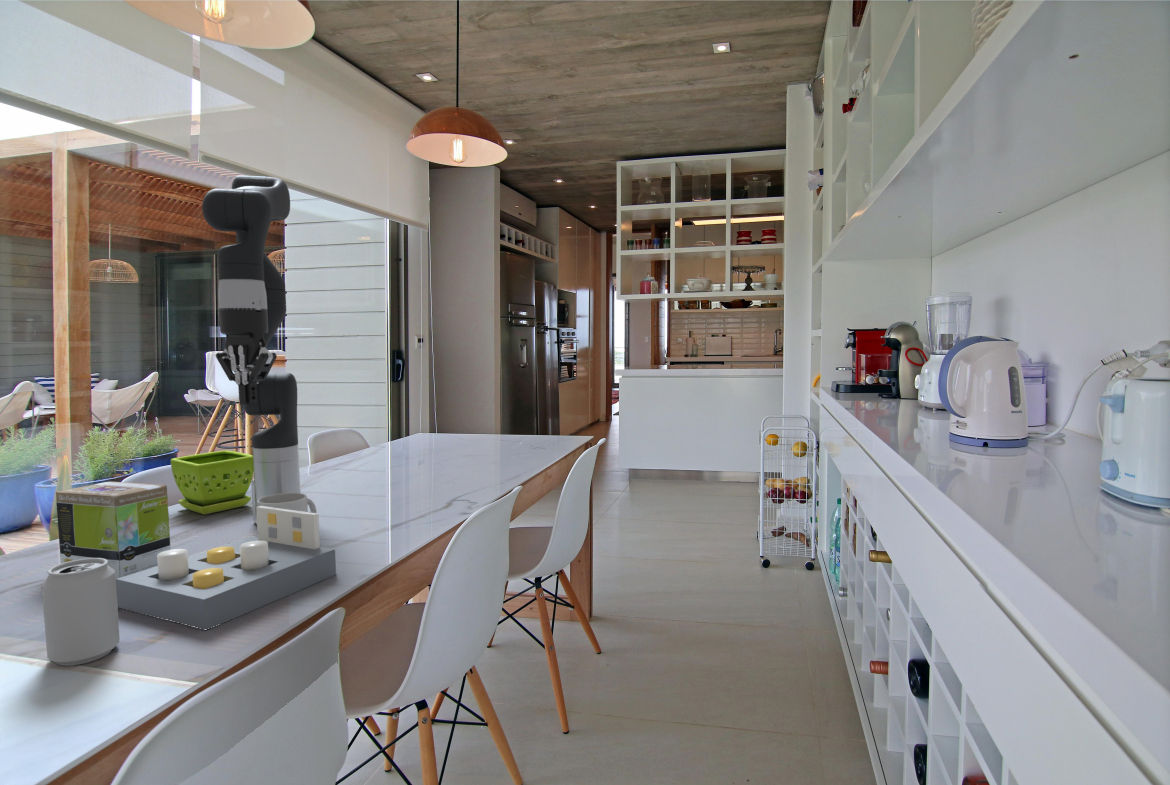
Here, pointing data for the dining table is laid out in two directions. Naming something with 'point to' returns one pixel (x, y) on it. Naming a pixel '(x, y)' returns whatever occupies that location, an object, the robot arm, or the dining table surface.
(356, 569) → the dining table surface
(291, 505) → the mug
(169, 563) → the cream button
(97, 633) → the can
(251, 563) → the cream button
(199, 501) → the flower pot
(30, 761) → the dining table surface
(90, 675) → the dining table surface
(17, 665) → the dining table surface
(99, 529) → the tea box
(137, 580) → the console
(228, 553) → the amber button
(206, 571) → the amber button
